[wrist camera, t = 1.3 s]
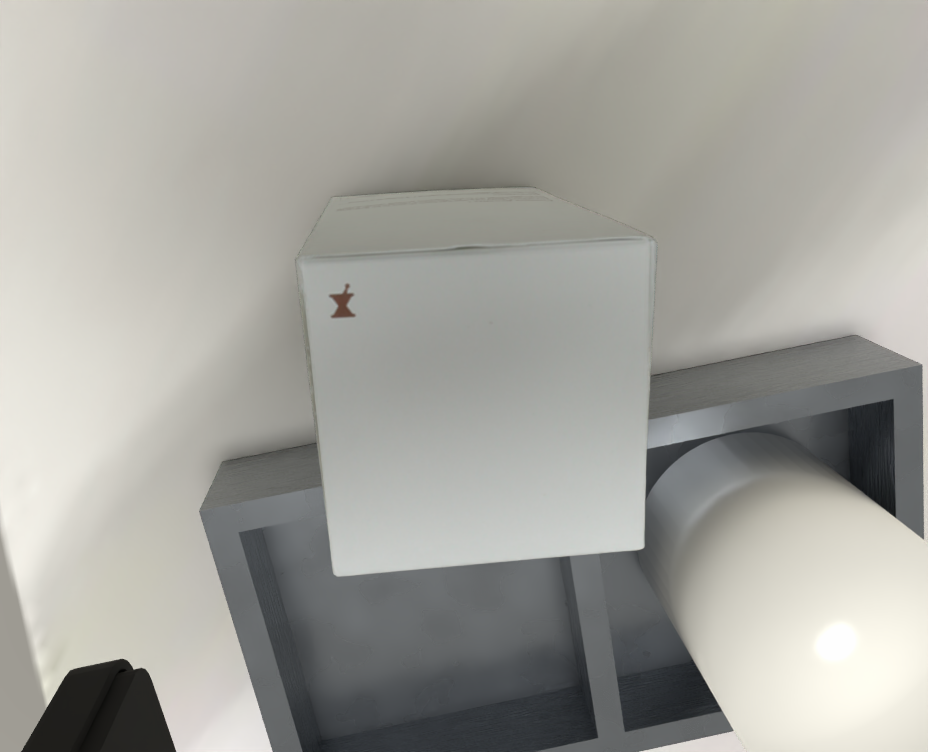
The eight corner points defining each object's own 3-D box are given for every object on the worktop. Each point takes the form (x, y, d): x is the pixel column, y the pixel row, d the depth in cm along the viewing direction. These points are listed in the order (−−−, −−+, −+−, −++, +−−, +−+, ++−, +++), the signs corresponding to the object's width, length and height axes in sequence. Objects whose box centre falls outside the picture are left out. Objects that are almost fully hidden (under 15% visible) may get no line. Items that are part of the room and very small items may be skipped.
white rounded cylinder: (624, 455, 31) (718, 585, 22) (834, 413, 31) (1006, 525, 22) (648, 638, 33) (740, 819, 25) (842, 597, 33) (1001, 761, 25)
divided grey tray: (222, 462, 30) (198, 511, 27) (856, 334, 31) (922, 364, 27) (305, 747, 34) (295, 826, 30) (866, 627, 35) (925, 689, 31)
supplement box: (344, 400, 30) (318, 586, 18) (327, 192, 28) (286, 244, 16) (545, 389, 31) (650, 561, 19) (545, 183, 29) (663, 228, 17)
